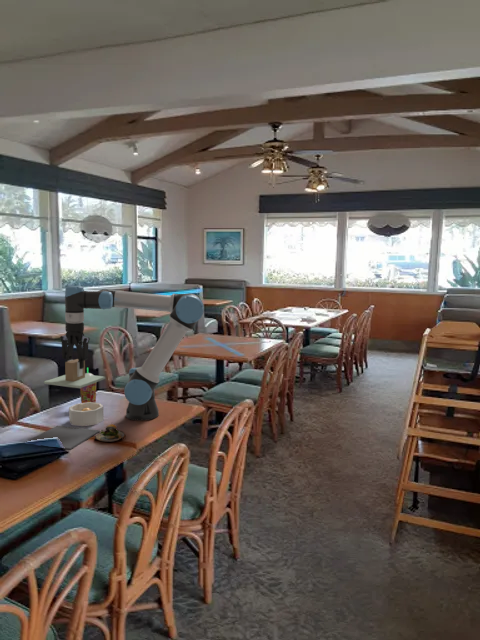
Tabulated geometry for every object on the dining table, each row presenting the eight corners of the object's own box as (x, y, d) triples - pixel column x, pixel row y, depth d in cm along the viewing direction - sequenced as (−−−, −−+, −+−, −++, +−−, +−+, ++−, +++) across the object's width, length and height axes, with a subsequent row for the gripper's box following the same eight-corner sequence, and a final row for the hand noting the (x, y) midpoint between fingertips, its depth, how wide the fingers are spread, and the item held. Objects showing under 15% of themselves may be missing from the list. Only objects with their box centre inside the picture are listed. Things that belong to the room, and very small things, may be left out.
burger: (89, 441, 195) (88, 424, 194) (108, 432, 206) (107, 415, 205) (112, 446, 190) (112, 428, 189) (131, 437, 201) (130, 419, 200)
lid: (105, 378, 215) (105, 359, 214) (79, 388, 198) (79, 366, 197) (71, 374, 221) (71, 355, 220) (44, 383, 204) (43, 362, 203)
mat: (99, 431, 206) (99, 430, 206) (70, 449, 186) (70, 448, 186) (57, 426, 211) (57, 425, 211) (24, 444, 191) (24, 442, 191)
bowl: (108, 417, 225) (108, 403, 224) (91, 427, 211) (91, 412, 211) (81, 414, 228) (81, 401, 228) (63, 424, 215) (63, 410, 214)
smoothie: (76, 408, 239) (75, 368, 236) (87, 403, 246) (86, 365, 244) (89, 410, 236) (88, 370, 233) (100, 405, 243) (99, 366, 241)
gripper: (52, 321, 206) (53, 375, 208) (86, 324, 200) (86, 379, 203) (63, 320, 213) (64, 371, 215) (96, 322, 207) (97, 375, 210)
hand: (75, 375), depth 209 cm, fingers closed on lid, 4 cm apart
